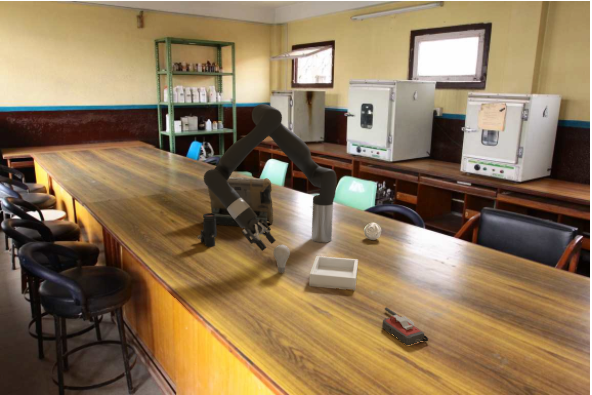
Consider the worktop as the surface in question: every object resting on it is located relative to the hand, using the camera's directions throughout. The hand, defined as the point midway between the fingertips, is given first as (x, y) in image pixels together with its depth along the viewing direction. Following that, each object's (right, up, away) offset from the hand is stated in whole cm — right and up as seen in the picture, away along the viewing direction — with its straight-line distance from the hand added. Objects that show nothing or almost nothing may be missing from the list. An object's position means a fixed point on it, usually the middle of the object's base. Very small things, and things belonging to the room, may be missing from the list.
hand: (269, 245), depth 170 cm
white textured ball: (+45, -2, +41) cm, 61 cm away
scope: (-28, -3, +29) cm, 40 cm away
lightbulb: (+4, -10, +1) cm, 11 cm away
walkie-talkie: (+40, -21, -37) cm, 58 cm away
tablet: (-18, +5, +60) cm, 63 cm away
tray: (+24, -12, -3) cm, 27 cm away
